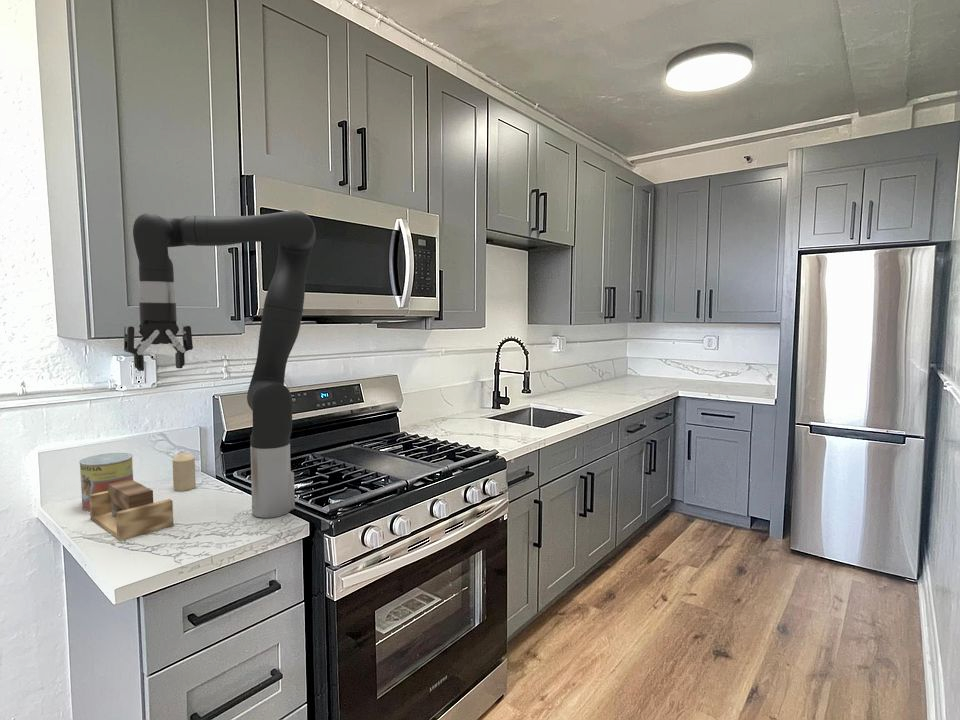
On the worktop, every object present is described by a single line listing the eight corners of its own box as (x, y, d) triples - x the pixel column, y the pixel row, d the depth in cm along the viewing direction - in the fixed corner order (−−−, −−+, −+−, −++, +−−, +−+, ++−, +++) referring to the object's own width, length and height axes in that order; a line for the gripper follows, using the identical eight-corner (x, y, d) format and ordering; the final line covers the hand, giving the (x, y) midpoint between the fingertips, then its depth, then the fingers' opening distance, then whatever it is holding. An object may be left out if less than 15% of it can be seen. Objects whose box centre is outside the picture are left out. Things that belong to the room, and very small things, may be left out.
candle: (189, 491, 151) (188, 456, 150) (169, 491, 151) (168, 456, 150) (199, 485, 157) (198, 451, 156) (180, 484, 157) (178, 450, 156)
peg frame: (141, 506, 139) (140, 483, 139) (173, 525, 128) (172, 500, 127) (90, 519, 131) (89, 494, 130) (120, 540, 119) (118, 513, 118)
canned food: (73, 506, 139) (70, 460, 138) (120, 493, 149) (118, 450, 148) (95, 515, 133) (92, 467, 132) (143, 501, 143) (141, 456, 142)
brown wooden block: (153, 507, 127) (152, 490, 126) (129, 513, 123) (128, 496, 122) (132, 494, 135) (131, 479, 134) (108, 500, 131) (107, 484, 130)
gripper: (130, 300, 121) (133, 373, 122) (196, 302, 132) (198, 368, 133) (117, 300, 125) (120, 370, 127) (182, 302, 137) (184, 366, 138)
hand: (160, 369), depth 130 cm, fingers open, 8 cm apart
